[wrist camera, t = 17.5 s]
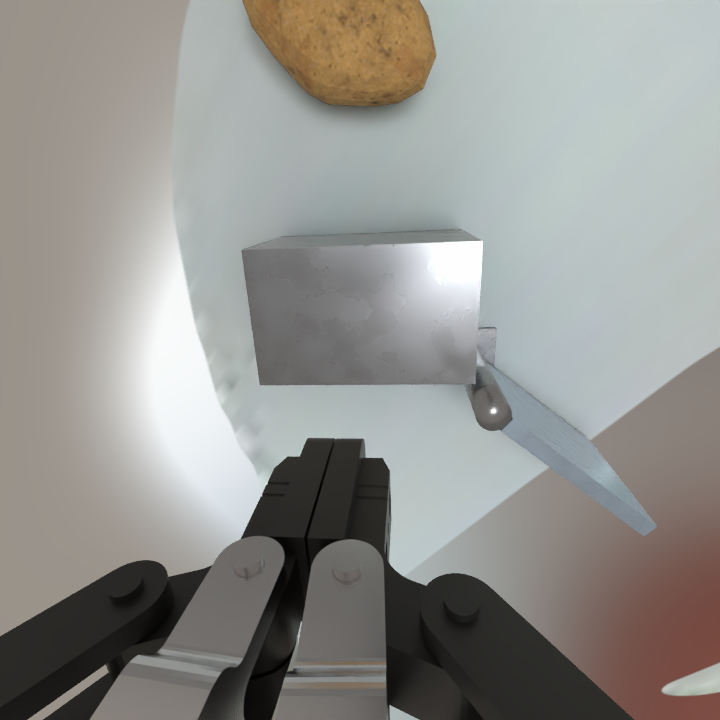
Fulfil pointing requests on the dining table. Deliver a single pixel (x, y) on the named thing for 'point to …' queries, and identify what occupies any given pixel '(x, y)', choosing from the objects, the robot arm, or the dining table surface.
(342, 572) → the robot arm
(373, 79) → the potato
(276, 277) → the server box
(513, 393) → the dough scraper
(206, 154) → the dining table surface
